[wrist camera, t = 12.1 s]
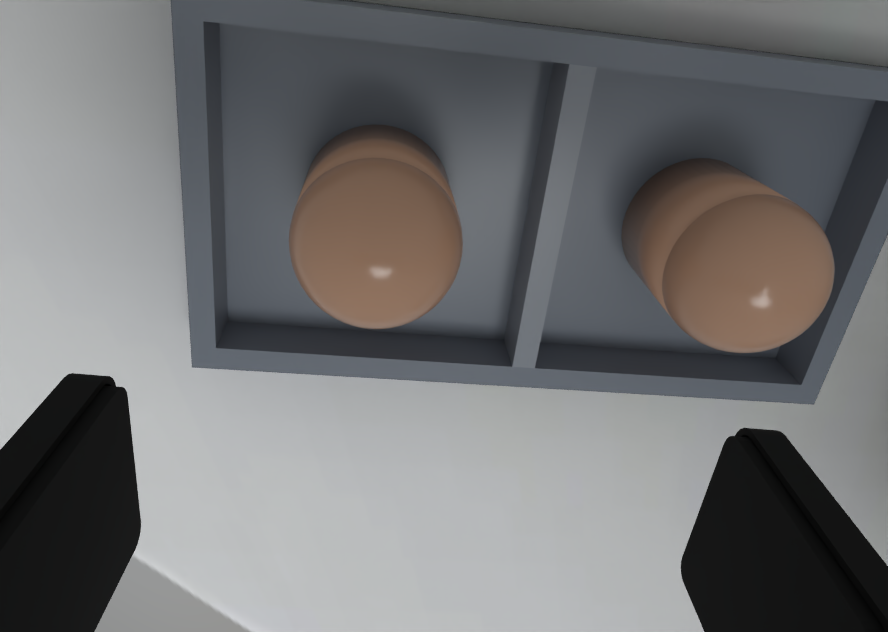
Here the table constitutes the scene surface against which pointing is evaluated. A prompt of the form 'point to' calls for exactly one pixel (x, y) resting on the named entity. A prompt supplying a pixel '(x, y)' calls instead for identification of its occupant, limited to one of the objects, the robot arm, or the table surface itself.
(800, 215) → the seated egg
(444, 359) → the divided grey tray
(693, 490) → the table surface
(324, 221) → the egg
